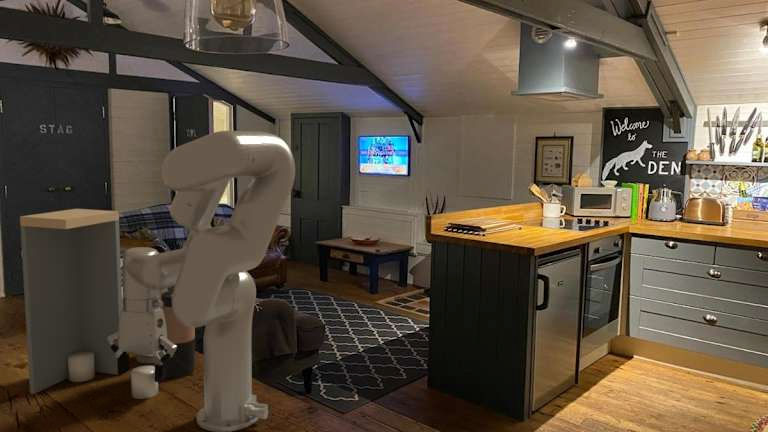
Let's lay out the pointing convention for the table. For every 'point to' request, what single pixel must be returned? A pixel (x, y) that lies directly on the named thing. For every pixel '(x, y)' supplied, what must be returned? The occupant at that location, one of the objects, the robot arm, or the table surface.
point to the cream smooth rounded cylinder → (143, 382)
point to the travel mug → (178, 341)
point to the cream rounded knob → (81, 366)
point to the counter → (70, 290)
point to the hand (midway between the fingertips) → (141, 376)
